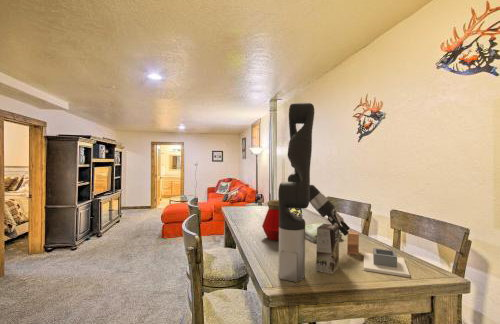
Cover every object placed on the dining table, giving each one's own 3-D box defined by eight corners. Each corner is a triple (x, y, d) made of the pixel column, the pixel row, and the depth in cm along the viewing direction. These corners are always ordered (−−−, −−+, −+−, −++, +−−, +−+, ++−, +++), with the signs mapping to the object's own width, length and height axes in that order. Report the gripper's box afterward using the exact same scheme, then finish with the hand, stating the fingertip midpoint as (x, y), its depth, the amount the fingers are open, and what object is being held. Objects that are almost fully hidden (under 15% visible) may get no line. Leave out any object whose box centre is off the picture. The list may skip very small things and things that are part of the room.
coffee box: (333, 274, 97) (333, 230, 97) (315, 270, 100) (316, 227, 100) (339, 266, 105) (340, 224, 105) (323, 263, 108) (323, 222, 108)
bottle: (295, 240, 138) (296, 201, 138) (275, 244, 131) (275, 203, 131) (276, 233, 151) (276, 197, 151) (256, 236, 144) (256, 199, 144)
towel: (313, 243, 134) (313, 233, 134) (293, 232, 154) (293, 223, 154) (344, 240, 140) (344, 230, 140) (320, 230, 160) (320, 221, 160)
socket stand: (409, 277, 95) (409, 263, 95) (363, 270, 101) (363, 256, 101) (403, 260, 112) (403, 248, 112) (363, 254, 118) (364, 243, 118)
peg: (358, 255, 118) (358, 234, 118) (347, 253, 119) (347, 233, 119) (358, 251, 122) (358, 232, 122) (347, 250, 123) (348, 230, 123)
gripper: (325, 201, 118) (353, 230, 114) (329, 197, 131) (354, 223, 127) (313, 212, 120) (340, 241, 116) (318, 207, 133) (342, 233, 129)
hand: (347, 231), depth 122 cm, fingers open, 8 cm apart
